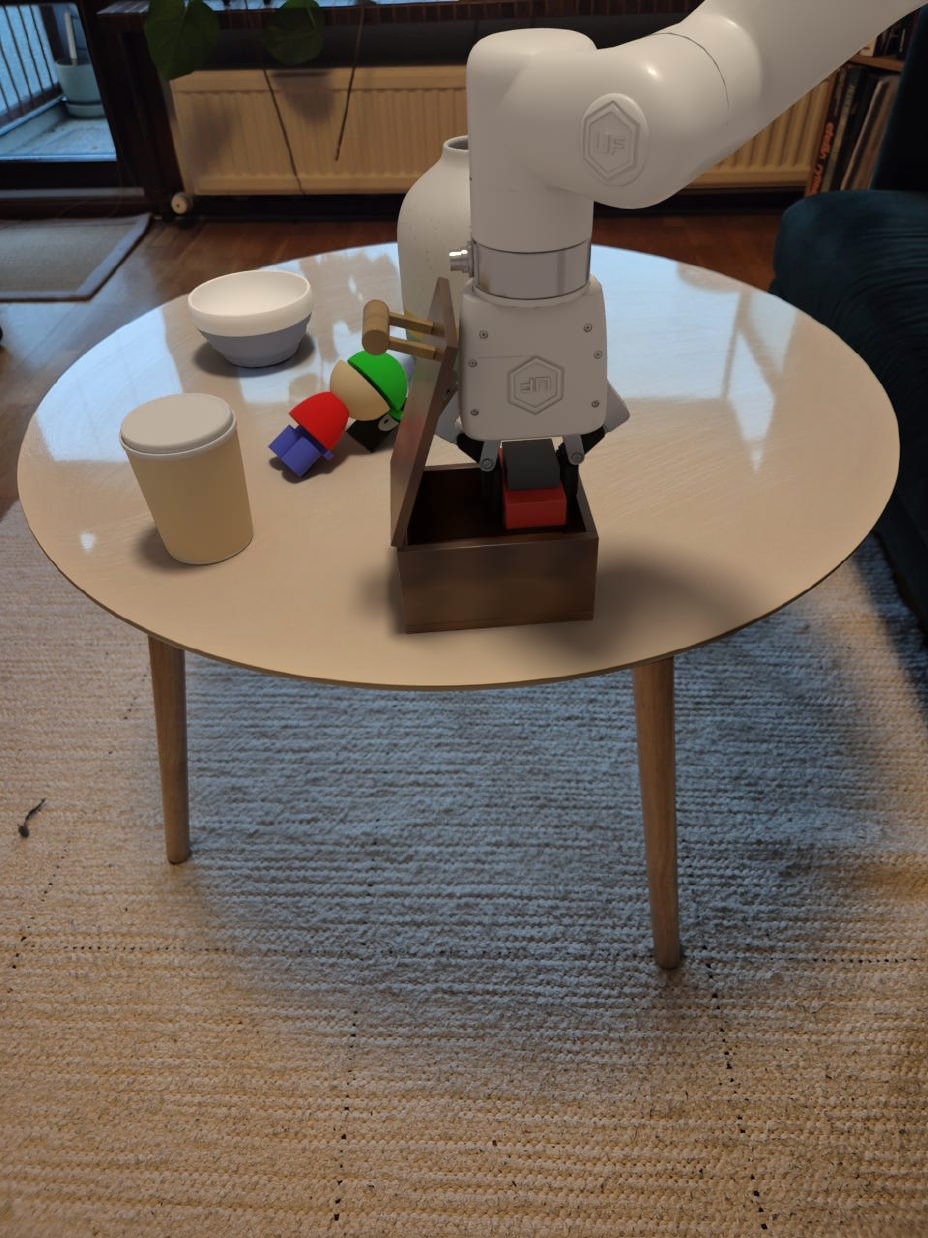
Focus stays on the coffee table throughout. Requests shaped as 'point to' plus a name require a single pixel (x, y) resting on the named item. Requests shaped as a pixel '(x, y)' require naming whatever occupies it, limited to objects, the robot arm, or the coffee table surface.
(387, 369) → the toy
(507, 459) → the car
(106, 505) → the coffee table surface
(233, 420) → the coffee cup
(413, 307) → the vase
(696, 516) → the coffee table surface
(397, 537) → the lid
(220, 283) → the bowl
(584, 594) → the chest
